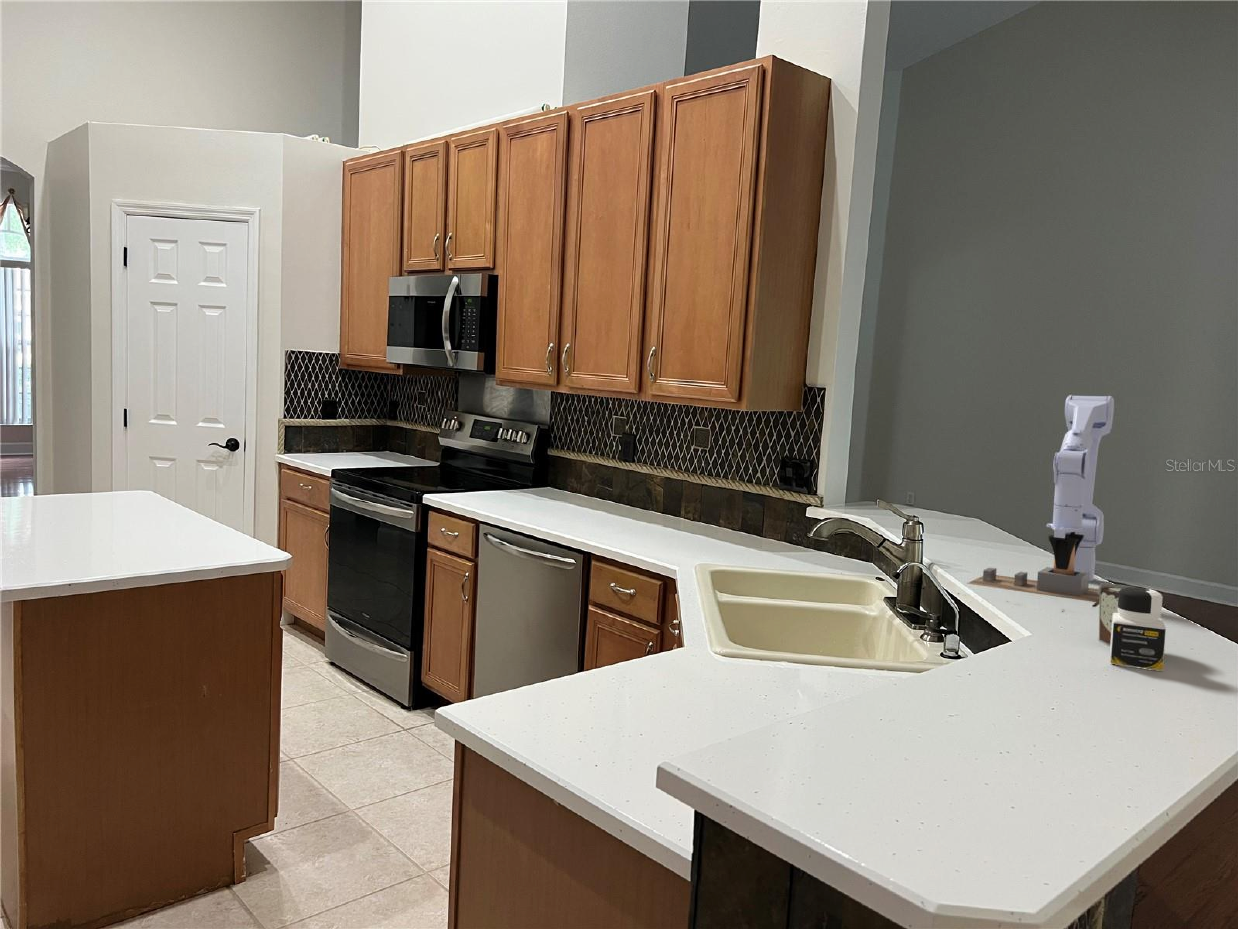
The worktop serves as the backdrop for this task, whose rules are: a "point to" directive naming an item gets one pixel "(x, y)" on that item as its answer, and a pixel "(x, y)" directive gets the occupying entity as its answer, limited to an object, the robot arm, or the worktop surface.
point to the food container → (1107, 609)
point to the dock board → (1027, 585)
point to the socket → (1063, 582)
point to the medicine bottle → (1138, 629)
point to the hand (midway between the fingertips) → (1064, 567)
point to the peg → (1070, 568)
